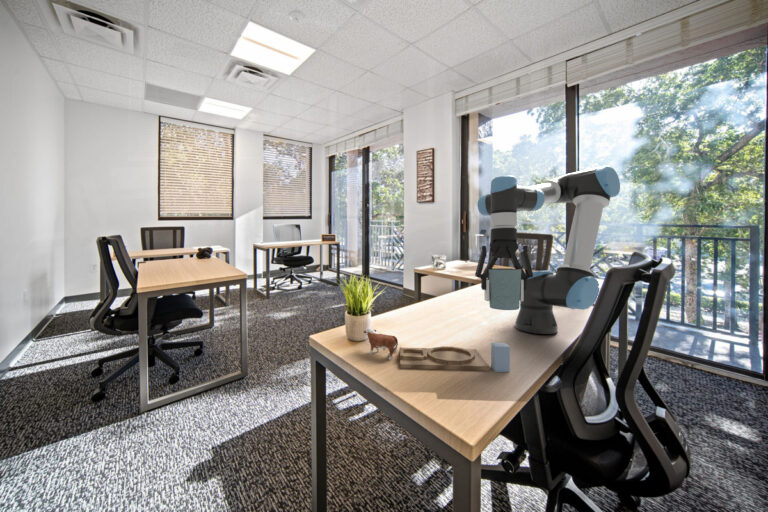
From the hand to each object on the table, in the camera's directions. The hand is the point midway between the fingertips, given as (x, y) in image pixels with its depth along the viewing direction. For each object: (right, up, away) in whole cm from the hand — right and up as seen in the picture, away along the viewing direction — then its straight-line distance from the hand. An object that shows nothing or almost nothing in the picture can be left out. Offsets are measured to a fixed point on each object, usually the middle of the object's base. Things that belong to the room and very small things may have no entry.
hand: (503, 300), depth 98 cm
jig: (-19, -18, 0) cm, 27 cm away
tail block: (-4, -19, -7) cm, 20 cm away
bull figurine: (-38, -18, +4) cm, 43 cm away
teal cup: (0, -2, 0) cm, 2 cm away
